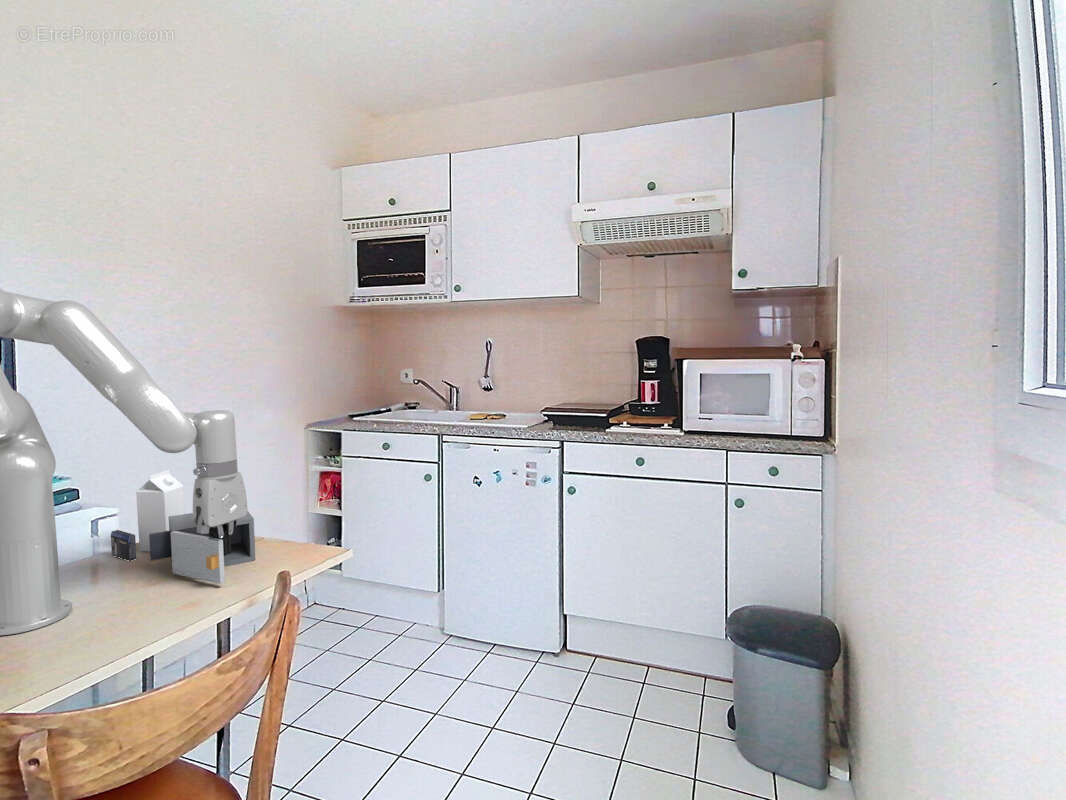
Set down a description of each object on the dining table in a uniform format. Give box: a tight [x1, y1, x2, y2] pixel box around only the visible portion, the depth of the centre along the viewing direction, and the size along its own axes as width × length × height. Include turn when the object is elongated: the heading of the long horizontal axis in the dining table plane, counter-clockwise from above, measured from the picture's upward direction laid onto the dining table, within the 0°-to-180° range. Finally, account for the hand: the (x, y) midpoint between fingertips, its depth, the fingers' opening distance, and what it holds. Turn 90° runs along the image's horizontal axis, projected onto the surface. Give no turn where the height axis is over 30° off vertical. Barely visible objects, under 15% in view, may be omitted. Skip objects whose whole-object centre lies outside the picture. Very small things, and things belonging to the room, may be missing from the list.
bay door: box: [171, 531, 226, 585], centre depth 118 cm, size 15×2×9 cm, turn 66°
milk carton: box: [136, 469, 186, 553], centre depth 141 cm, size 7×7×19 cm
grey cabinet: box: [149, 510, 256, 577], centre depth 131 cm, size 20×14×10 cm
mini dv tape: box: [110, 529, 137, 562], centre depth 134 cm, size 8×2×6 cm, turn 60°
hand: (222, 554), depth 120 cm, fingers closed
